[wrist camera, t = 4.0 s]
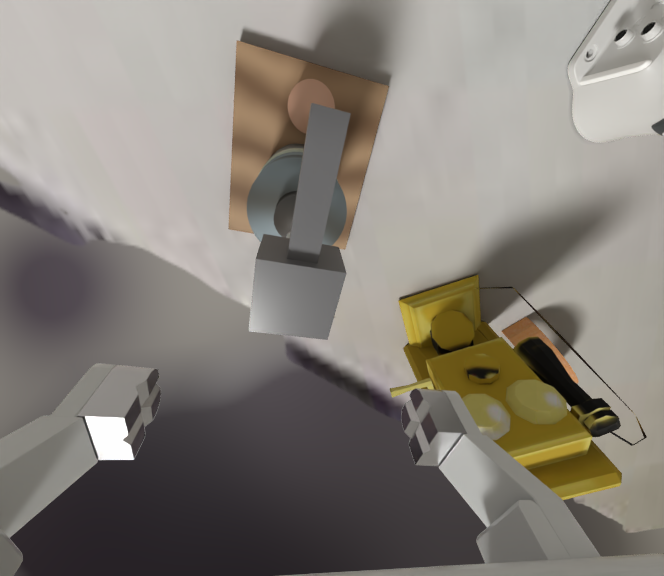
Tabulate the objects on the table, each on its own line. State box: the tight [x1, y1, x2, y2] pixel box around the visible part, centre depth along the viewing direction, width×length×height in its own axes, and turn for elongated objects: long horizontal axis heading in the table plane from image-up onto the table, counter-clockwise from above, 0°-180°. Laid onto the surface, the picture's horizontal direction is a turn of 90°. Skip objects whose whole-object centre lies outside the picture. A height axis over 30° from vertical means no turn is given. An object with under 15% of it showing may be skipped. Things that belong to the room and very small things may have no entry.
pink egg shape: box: [288, 79, 335, 134], centre depth 32 cm, size 5×5×6 cm
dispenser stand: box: [229, 41, 389, 249], centre depth 31 cm, size 22×18×20 cm
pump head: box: [249, 103, 351, 340], centre depth 15 cm, size 10×4×8 cm, turn 167°
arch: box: [502, 317, 578, 384], centre depth 60 cm, size 6×20×10 cm, turn 38°
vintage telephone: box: [390, 275, 646, 500], centre depth 43 cm, size 31×14×30 cm, turn 108°
